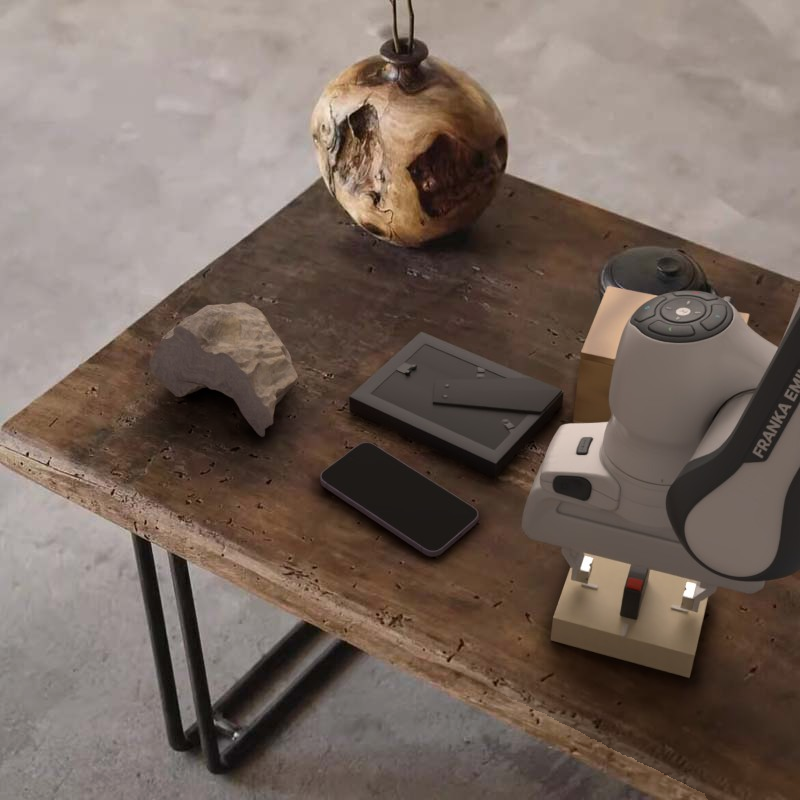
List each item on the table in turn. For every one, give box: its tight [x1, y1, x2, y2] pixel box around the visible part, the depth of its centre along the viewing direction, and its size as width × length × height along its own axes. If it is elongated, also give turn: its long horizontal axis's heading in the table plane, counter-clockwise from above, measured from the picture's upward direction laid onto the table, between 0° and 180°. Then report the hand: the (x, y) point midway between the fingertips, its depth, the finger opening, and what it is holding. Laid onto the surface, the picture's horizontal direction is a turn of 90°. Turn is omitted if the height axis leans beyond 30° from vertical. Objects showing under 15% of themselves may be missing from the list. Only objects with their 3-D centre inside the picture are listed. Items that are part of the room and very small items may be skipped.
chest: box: [572, 357, 614, 423], centre depth 134 cm, size 14×12×9 cm
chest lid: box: [579, 285, 751, 366], centre depth 130 cm, size 15×12×5 cm
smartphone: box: [319, 441, 479, 558], centre depth 126 cm, size 7×1×15 cm
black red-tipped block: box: [620, 565, 650, 620], centre depth 112 cm, size 5×2×4 cm, turn 161°
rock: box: [148, 302, 299, 438], centre depth 137 cm, size 16×13×10 cm
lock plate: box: [550, 553, 709, 679], centre depth 114 cm, size 12×9×3 cm
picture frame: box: [348, 331, 565, 479], centre depth 136 cm, size 13×2×18 cm
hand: (635, 590), depth 113 cm, fingers open, 8 cm apart
